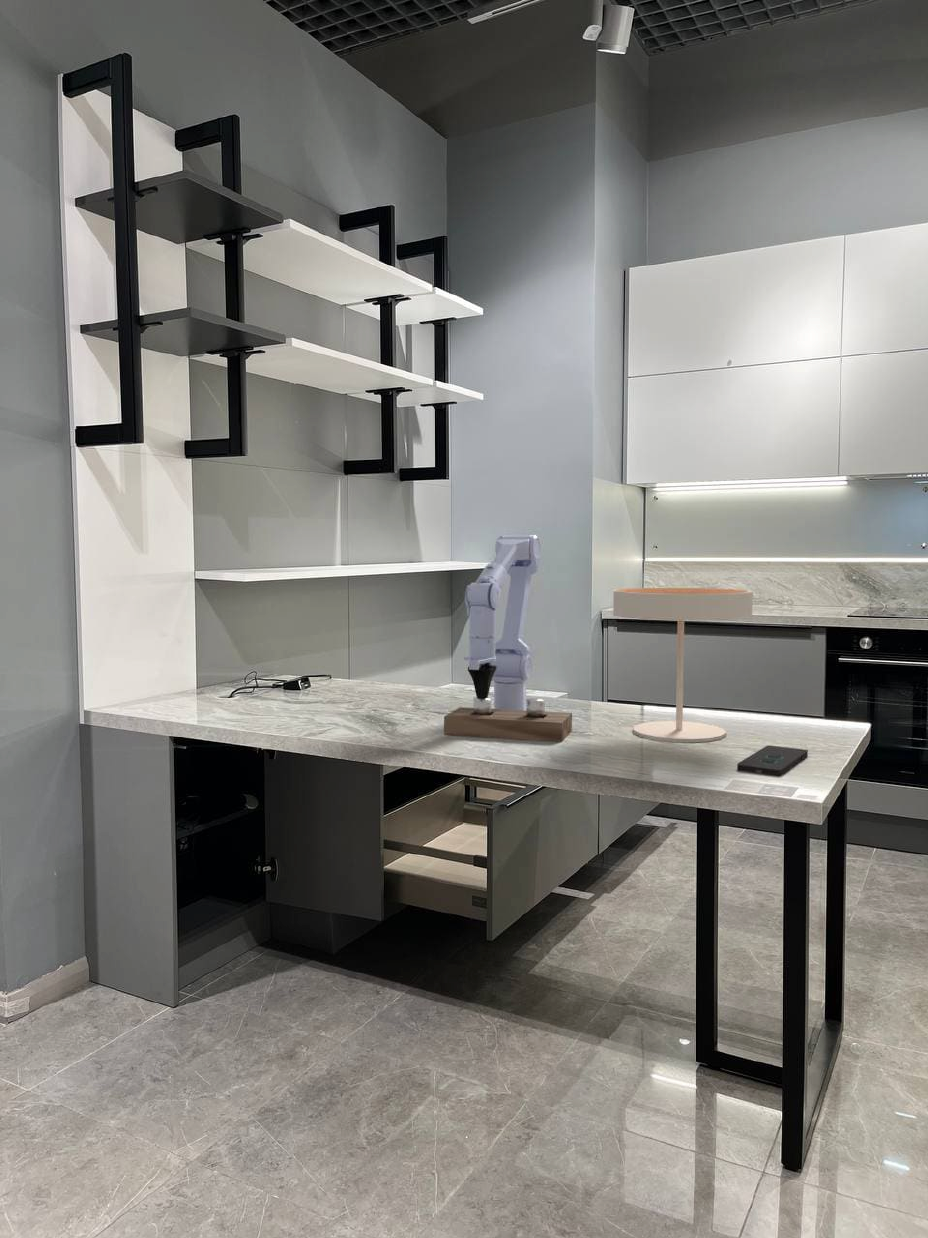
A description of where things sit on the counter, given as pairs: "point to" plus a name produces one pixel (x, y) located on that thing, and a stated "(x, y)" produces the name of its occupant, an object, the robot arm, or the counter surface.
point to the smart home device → (772, 760)
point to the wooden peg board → (508, 725)
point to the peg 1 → (482, 706)
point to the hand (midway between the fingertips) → (482, 698)
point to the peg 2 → (535, 708)
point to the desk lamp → (681, 641)
